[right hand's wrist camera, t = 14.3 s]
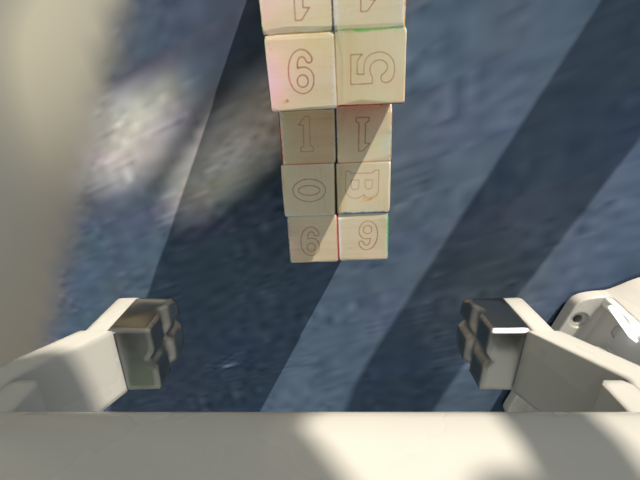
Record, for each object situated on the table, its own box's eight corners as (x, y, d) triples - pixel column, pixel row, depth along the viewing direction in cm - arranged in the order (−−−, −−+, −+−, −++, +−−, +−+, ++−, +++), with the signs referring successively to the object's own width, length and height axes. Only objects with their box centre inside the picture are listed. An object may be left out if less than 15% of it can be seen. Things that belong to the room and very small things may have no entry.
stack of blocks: (369, 215, 31) (397, 285, 19) (296, 217, 31) (281, 289, 19) (374, -105, 23) (427, -307, 11) (276, -100, 23) (231, -296, 11)
